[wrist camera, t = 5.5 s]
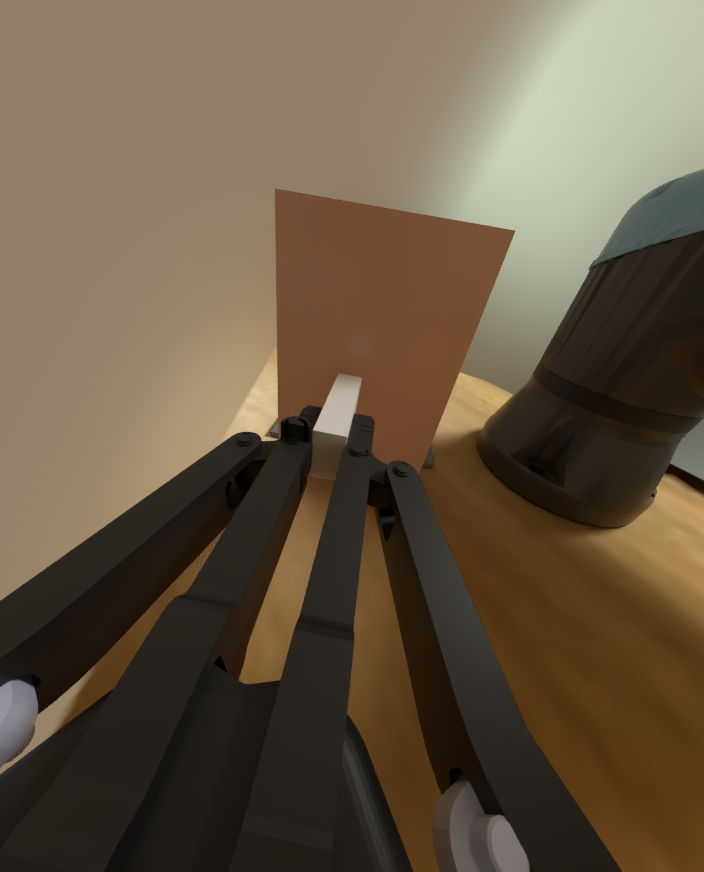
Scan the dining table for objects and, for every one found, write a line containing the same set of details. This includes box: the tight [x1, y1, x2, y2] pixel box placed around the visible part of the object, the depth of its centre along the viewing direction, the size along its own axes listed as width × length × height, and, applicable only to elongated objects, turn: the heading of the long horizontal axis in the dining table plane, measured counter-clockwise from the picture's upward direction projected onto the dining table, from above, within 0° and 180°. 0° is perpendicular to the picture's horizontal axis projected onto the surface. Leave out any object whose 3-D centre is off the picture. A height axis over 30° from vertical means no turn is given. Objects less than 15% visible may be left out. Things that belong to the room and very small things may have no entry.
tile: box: [275, 189, 515, 475], centre depth 20 cm, size 12×3×18 cm, turn 82°
